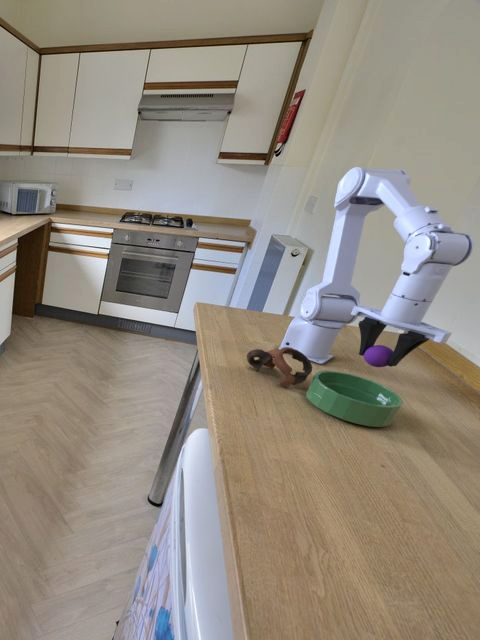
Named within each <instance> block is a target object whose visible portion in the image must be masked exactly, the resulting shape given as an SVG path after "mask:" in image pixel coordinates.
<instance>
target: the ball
mask: <svg viewBox="0 0 480 640" xmlns="http://www.w3.org/2000/svg"><path fill="white" fill-rule="evenodd" d="M393 352H394V350H393V349H392V348H390V347H389V346H387V345H383V344H376V345H375V344H374V346H372V347H369V348H368V349H367V350H366V351H365V353H364V356H363V360H364V361H365V362H366V363H367V364H368V365H369V366H372V367H374V368H385V367H388V366H387V365H386V364H387V362H388V360H389V358H390V357H391V355H392V353H393Z"/></svg>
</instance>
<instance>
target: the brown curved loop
mask: <svg viewBox="0 0 480 640" xmlns="http://www.w3.org/2000/svg"><path fill="white" fill-rule="evenodd" d="M284 354H285V355H286V354H291V355H292V356H291V358H292V359H293V360H295V361H298V362H300V363H302V366H303V367H302V371H296V372H295V373H294V374H293V373H291V372H292V371H293V368H292V367H291V366H290V365H289V364H288V363H287V362H286V360H285V358H284ZM255 358H258V359H255ZM246 361H247V363H248V365H250V366H251V367H252V370H253V371H254V372H256V373H258V372H259V371H260V369H261V368H262V367H263V366H264V367H267V368H269V369H272V370H273V369H274V368H276V369H278V370H279V371H280V373H281V374H282V375H283V376H284V378H283V379H282V380H280V381H279V382H278V385H279V386H281V387H282V388H287V387H290V386H291V385H292V386H295V385H299V384H302V383H304V382H305V381H306V380H307V378H308V377H309V375H311V373H312V371H313V365H312V362H311V361H310V360H309V359H308V358H307V357H306V356H305V355H304V354H302V353H301V352H300V351H298V350H296V349H293V348H289V347H284V348H282V349H279V348H275V349H270V350H268V351H265V350H263V349H260V348H259V349H258V348H257V349H251V350H250V351H248V352H247V354H246Z"/></svg>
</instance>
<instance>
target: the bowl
mask: <svg viewBox="0 0 480 640" xmlns="http://www.w3.org/2000/svg"><path fill="white" fill-rule="evenodd" d="M305 396H306V398H307V399H308V401H309V403H311V404H312V405H314V406H315V407H316V408H318V409H319V410H321V411H323V412H324V413H327V414H328V415H330V416H333V417H335V418H337V419H340V420H342V421H346V422H349V423H352V424H356V425H361V426H366V427H375V428H384V427H387V426H391V424H392V422H394V419H395V418H396V417H397V414H399V412H400V410H401V408H402V407H403V405H404V400H403V397H401V396H400V394H398V393H397V392H395V391H394V390H392V389H390V388H389V387H387V386H385V385H383V384H381V383H379V382H376V381H374V380H371V379H368V378H366V377H362V376H359V375H355V374H351V373H347V372H343V371H336V370H335V371H334V370H321V371H318V372H316V373H315V374H314V375H313V377H312V379H311V381H310V383H309V386H308V387H307V389H306V391H305Z"/></svg>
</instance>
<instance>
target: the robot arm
mask: <svg viewBox="0 0 480 640" xmlns="http://www.w3.org/2000/svg"><path fill="white" fill-rule="evenodd" d="M411 181H412V176H411V175H409V174H408V171H407V170H405V169H402V168H401V169H400V168H397V169H390V168H389V169H387V168H370V167H369V168H368V167H360V166H355V167H353V168H351V169H349V170H348V171H347V172H346V173H345V174H344V176H342V178H341V179H340V180H339V182H338V184H337V189H336V193H335V199H334V205H333V207H334V209H336V211H335V217H334V221H333V226H332V230H331V236H330V241H329V246H328V251H327V255H326V260H325V265H324V270H323V275H322V280H321V282H320V283H318V284H316V285H314V286H312V287H310V288H309V289H307V290H306V293H305V296H304V299H303V300H302V302H301V304H300V307H299V308H300V309H299V310H300V311H299V312H300V315H296V316H294V318H293V319H292V320H291V322H290V324H289V325H288V327H287V329H286V332H285V335H284V337H283V339H282V342H281V344H280V345H279V347H278V349H282V348H284V347H289V348H293V349H296V350H298V351H300V352H301V353H302V354H304V355H305V356H306V357H307V358H308V359H309V361H310V362H313V363H316V364H318V365H324V364H325V363H326V362H328V361H329V360H331V359H332V358H333V357H334V355H333V354H330V352H332V349H333V347H334V345H335V342H336V340H337V338H338V336H339V334H340V332H341V330H342V329H343V328H345V329H346V328H347V325H349V324H353V323H354V322H355V321H356V320H357V319H358V318H359V317H361V318H363V319H362V320H360V321H358V329H359V333H360V346H359V352H358V355H360V356H362V357H364V353H365V351H366V350H367V349H368V348H369V347H372V346H375V343H376V342H377V340H378V338H379V337H380V335H381V334H382V332H383V331H385V329H386V327H387V326H389V327H390V328H391V327H392V328H395V329H398V330H401V331H404V333H399V335H398V338H397V342H396V344H395V347H394V350H393V353H392V355H391V357H390V358H389V360H388V362H387V364H386V365H387V366H386V367H389V368H391V367H396V366H397V365H398V364H399V363H400V362H401V361H402V360H403V359H404V358H405V357H406V356H408V355H409V354H410V353H412V352H413V351H414V350H415V349H417V348H418V347H420V346H421V345H423V344H424V343H427V342H429V340H432V341H433V342H435V343H437V344H444V343H447V341H448V340H449V339H450V337H451V336H452V332H451V331H448V330H444V329H442V328H439V327H436V326H434V325H431V324H428V323H426V322H424V321H423V319H424V317H425V316H426V314H427V312H428V310H429V308H430V306H431V305H432V304H433V302H434V300H435V298H436V296H437V295H438V293H439V291H440V289H441V287H442V286H443V284H444V282H445V281H446V279H447V277H448V275H449V273H450V272H451V270H452V268H453V267H456V266H459V265H461V264H463V263H464V262H466V261H467V260H468V259H469V257H470V256H471V254H472V253H473V250H474V241H473V238H472V236H471V235H470V233H469V234H468V233H465V232H457V231H455V230H453V229H452V228H451V226H450V224H449V223H447V222H446V221H445V220H444V219H443V218H442V217H441V215H440V214H439V211H440V210H439V209H438V207H437V206H430V205H421V204H420V202H419V200H418V199H417V197H416V195H415V194H414V192H413V190H412V188H411V187H410V184H411ZM384 206H386V207H387V209H388V210H390V212H392V214H394V216H395V217H396V218H395V219H394V220H393V221H394V222H393V227H394V229H395V230H396V231H397V233H398V234H399V236H400V238H401V239H402V240H403V242H404V243H405V247H404V249H403V261H402V263H401V265H400V267H401V268H400V270H401V273H400V275H399V277H398V279H397V281H396V283H395V285H394V286H393V289H392V290H391V292H390V294H389V296H388V298H387V300H386V302H385V304H384V305H383V308H382V310H381V309H377V308H373V307H368V306H365V305H362V304H360V297H361V293H360V292H359V290H357V289H356V288H355V287H354V286H353V285H352V280H353V274H354V270H355V267H356V266H355V265H356V263H357V262H356V261H357V256H358V252H359V247H360V242H361V238H362V233H363V228H364V223H365V219H366V216H368V214H370V213H372V212H376V211H378V210H380V209H381V208H383V207H384Z"/></svg>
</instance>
